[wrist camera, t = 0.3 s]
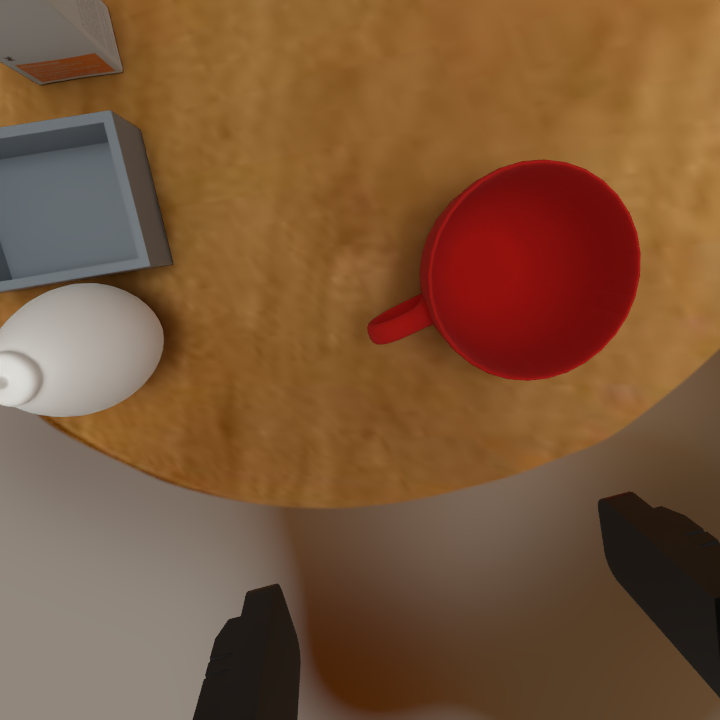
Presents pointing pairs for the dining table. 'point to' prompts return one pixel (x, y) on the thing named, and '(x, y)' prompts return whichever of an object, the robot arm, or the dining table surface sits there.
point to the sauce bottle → (78, 350)
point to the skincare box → (57, 39)
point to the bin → (76, 202)
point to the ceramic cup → (525, 272)
